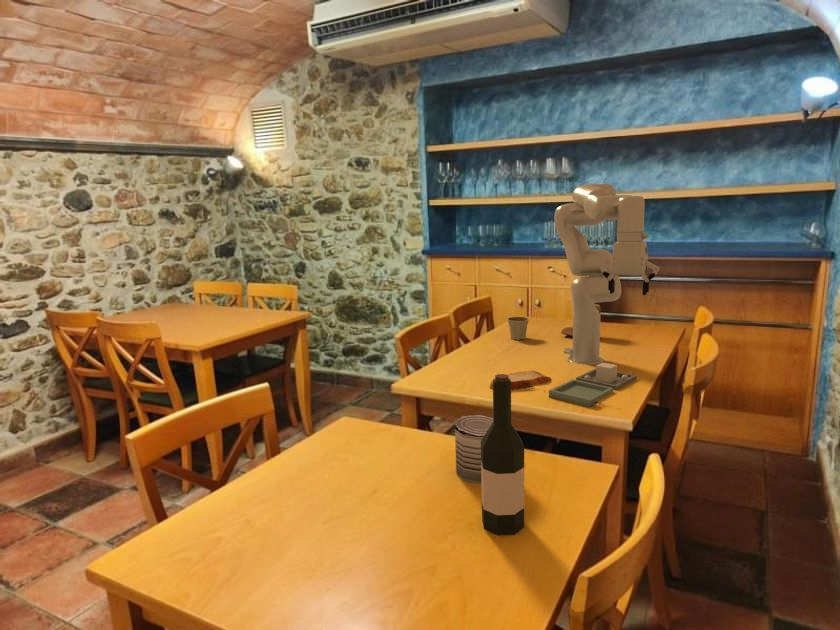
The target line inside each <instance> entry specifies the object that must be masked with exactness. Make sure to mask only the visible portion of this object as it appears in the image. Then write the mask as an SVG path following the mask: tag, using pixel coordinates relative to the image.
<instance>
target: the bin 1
mask: <svg viewBox="0 0 840 630" xmlns="http://www.w3.org/2000/svg"><path fill="white" fill-rule="evenodd" d="M613 392H614V390H613V388H611V387H606V386H602V385H597V384H592V383H588V382H583V381H579V380H576V379H575V378H574V379H573V378H572V379H570V380H568V381H566V382H564V383H562V384H559V385H557V386H555V387H553V388H551V389H549V390H548V398H550V397H551V399H554V398H555V399H554V400H558V399H559V400H558V401H562V400H563V402H566V401H567V402H566V403H570V402H571V404H575V405H578V406H583V407H586V408H592V407H593V406H595V405H597V404H599V400H601V399H603V398H604V397H606V396H609V395H610V394H612V393H613Z"/></svg>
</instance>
